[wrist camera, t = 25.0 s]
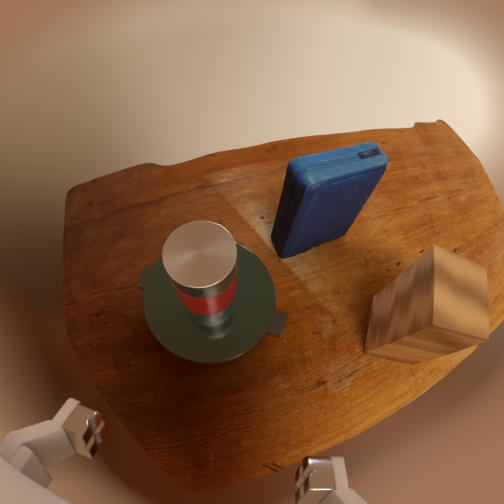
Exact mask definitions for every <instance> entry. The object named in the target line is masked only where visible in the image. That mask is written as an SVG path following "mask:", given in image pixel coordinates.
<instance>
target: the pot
mask: <svg viewBox="0 0 504 504" xmlns="http://www.w3.org/2000/svg"><path fill="white" fill-rule="evenodd" d="M235 243H236V242H235ZM236 246H237V282H236V294H235V302H234V305H233V307H232V309H231V310H230V311H229V313H228V314H227V315H225V316H224V317H222V318H220V319H218V320H215V321H202V320H198V319H196V318H194V317H193V316H191V315H190V314H189V313H188V312H187V311H186V309H185V307H184V306H183V304H182V303H181V301H180V299H179V297H178V295H177V293H176V291H175V289H174V287H173V285H172V283H171V281H170V279H169V276H168V274H167V272H166V270H165V268H164V265H163V261H162V257H161V258H160V259H159V260H158V261H157V263H156V264H155V265H154V267H153V268H150V267H147V266H145V268H144V270H143V272H142V274H141V276H140V278H139V280H138V282H137V285H136V286H137V287H138V288H139V289H141V290H144V294H143V308H144V314H145V318H146V321H147V324H148V326H149V328H150V330H151V332H152V333H153V335H154V336H155V338H156V339H157V340H158V341H159V342H160V343H161V344H162V345H163V346H164V347H165V348H166V349H167V350H169V351H170V352H172V353H173V354H175V355H177V356H179V357H181V358H183V359H186V360H189V361H192V362H195V363H198V364H202V365H208V366H218V365H224V364H228V363H231V362H234V361H236V360H238V359H239V358H241V357H242V356H244V355H245V354H246V353H247V352H248V351H249V350H250V349H251V348H252V347H254V346H255V345H256V344H257V343H258V342H259V340H260V339H261V338H262V337H263V335H264V334H268V335H272V336H275V337H278V338H280V337H281V335H282V332H283V328H284V325H285V322H286V318H287V315H288V314H286V313H283V312H280V311H277V310H274V307H275V292H274V286H273V282H272V280H271V277H270V275H269V273H268V271H267V269H266V267H265V266H264V264H263V263H262V262H261V260H260V259H259V258H258V257H257V256H256V255H255V254H254V253H252V252H251V251H250V250H248V249H247V248H245V247H244V246H242V245H240V244H238V243H236Z"/></svg>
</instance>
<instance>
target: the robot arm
mask: <svg viewBox="0 0 504 504" xmlns="http://www.w3.org/2000/svg"><path fill="white" fill-rule="evenodd" d="M103 417H104V416H103V413H102V411H99V410H97V409H94V408H92V407H90V406H88V405H85V404H83V403H81V402H79V401H77V400H75V399H73V398H70V399H68V400H67V401H66V402H65V404H64V405H63V406H62V408H61V409H60V410H59V412H58V413H57V414H56V415H55V417H54V418H53V419H52V420H51V421H50V420H47V421H44V422H41V423H38V424H35V425H31V426H28V427H25V428H22V429H19V430H16V431H12V432H9V433H8V434H7V435H6V436H5V438H4V439H3V440H2V441H1V443H0V504H71V503H69V502H68V501H66V500H64V499H62V498H60V497H59V496H57V495H55V494H54V493H52V492H50V491H49V490H47V487H48V485H49V483H50V482H51V480H52V478H51V476H50V474H49V473H48V472H47V471H46V469H45V468H47V467H49V466H51V465H53V464H55V463H57V462H59V461H61V460H63V459H65V458H67V457H68V456H70V455H72V454H74V453H75V452H78V453H80V454H82V455H84V456H86V457H88V458H90V459H93V457H94V456H95V454H96V452H97V450H98V445H97V444H98V443H100V442H102V441H103V440H104V437H105V435H106V431H107V426H106V423H105V422H104V421H103V419H102V418H103ZM295 485H296V486H297V487H298V488H299V489H298V490H297V492H296V493H295V498H296V504H368V503H367V502H365V500H363V498H361V497H360V496H359V495H358V494H357V493H356V492H355V491H354V490H353V489H349V485H348V479H347V474H346V467H345V462H344V458H343V457H314V456H306V457H304V459H303V464H302V465H300V466H299V467H298V469H297V472H296V477H295Z"/></svg>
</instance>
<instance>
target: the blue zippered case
mask: <svg viewBox="0 0 504 504" xmlns="http://www.w3.org/2000/svg"><path fill="white" fill-rule="evenodd" d="M388 162H389V161H388V158H387V156H386V155H385V154H384V153H383V151H382V150H381V149H380V148H379V147H378V145H377V144H375V143H373V142H367V143H363V144H359V145H354V146H350V147H344V148H339V149H335V150H330V151H326V152H321V153H316V154H312V155H307V156H301V157H296V158H294V159H293V160H291V161H290V162H289V164H288V166H287V171H286V177H285V181H284V186H283V190H282V194H281V198H280V202H279V206H278V210H277V215H276V218H275V222H274V226H273V230H272V233H271V240H272V243H273V245H274V247H275V249H276V251H277V253H278V255H279V257H280V258H281V259H284V258H287V257H292V256H295V255H297V254H299V253H303V252H306V251H307V250H310V249H311V248H312V247H317V246H319V245H321V244H323V243H325V242H329V241H331V240H333V239H335V238H339V237H342V236H344V235H345V234H346V233H347V231H348V229H349V228H350V226H351V225H352V224H353V222H354V220H355V219H356V217H357V215H358V214H359V212H360V211H361V209H362V207H363V205H364V204H365V203H366V201H367V199H368V198H369V197H370V195H371V193H372V192H373V190H374V189H375V187H376V185H377V183H378V182H379V180H380V179H381V177H382V175H383V173H384V171H385V169H386V165H387V163H388Z"/></svg>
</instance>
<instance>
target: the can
mask: <svg viewBox="0 0 504 504" xmlns="http://www.w3.org/2000/svg"><path fill="white" fill-rule="evenodd" d="M162 261H163V265H164V268H165V270H166V272H167V274H168V276H169V279H170V281H171V283H172V285H173V287H174V289H175V291H176V293H177V295H178V297H179V299H180V301H181V303H182V304H183V306H184V307H185V309H186V311H187V312H188V313H189V314H190V315H191V316H193V317H194V318H196V319H198V320H202V321H215V320H218V319H220V318H222V317H224V316H225V315H227V314H228V313H229V311H230V310H231V309H232V307H233V305H234V302H235V294H236V282H237V246H236V243H235V240H234V238H233V237H232V235H231V234H230V233H229V232H228V231H227V230H226V229H225V228H224V227H222V226H221V225H219V224H217V223H214V222H210V221H192V222H189V223H186V224H183V225H181V226H180V227H178V228H177V229H175V230H174V231H173V232H172V233H171V234H170V235H169V237H168V238H167V240H166V242H165V244H164V247H163V251H162Z"/></svg>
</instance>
